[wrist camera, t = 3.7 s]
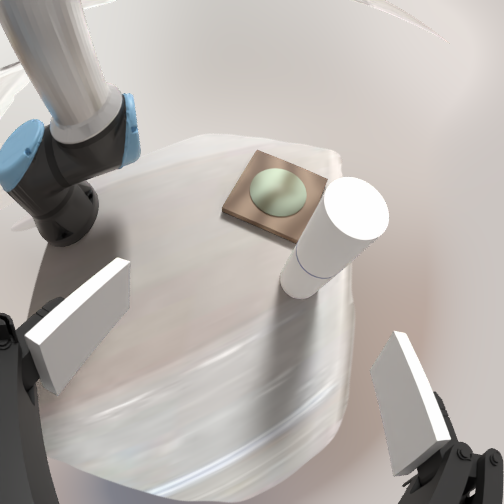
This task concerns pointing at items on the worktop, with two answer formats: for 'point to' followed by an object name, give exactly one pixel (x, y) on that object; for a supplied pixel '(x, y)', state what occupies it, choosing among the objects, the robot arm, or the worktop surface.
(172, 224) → the worktop surface
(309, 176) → the board
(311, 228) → the cylindrical container
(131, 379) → the worktop surface
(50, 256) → the worktop surface
